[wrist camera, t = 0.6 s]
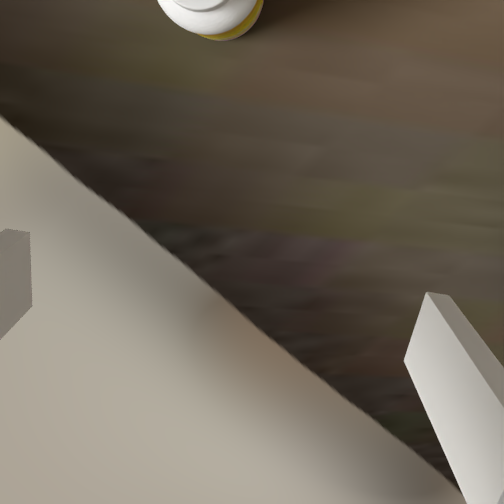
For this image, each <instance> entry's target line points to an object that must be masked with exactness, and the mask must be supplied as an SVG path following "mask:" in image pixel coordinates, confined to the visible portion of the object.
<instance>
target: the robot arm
mask: <svg viewBox="0 0 504 504" xmlns="http://www.w3.org/2000/svg"><path fill="white" fill-rule="evenodd" d="M31 307H32V288H31V259H30V232H25V231H18V230H11V229H5V230H3V231H2V232H0V339H1V338H2V337H3V336H4V335H5V334H6V333H7V332H8V331H9V330H10V329H11V328H12V327H13V326H14V325H15V324H16V323H17V322H18V320H19V319H20V318H21V317H22V316H23V315H24V314H25V313H26V312H27V311H28V310H29V309H30V308H31ZM404 362H405V364H406V367H407V369H408V371H409V373H410V376H411V378H412V380H413V382H414V385H415V387H416V389H417V391H418V394H419V396H420V398H421V401H422V403H423V405H424V407H425V410H426V412H427V414H428V416H429V419H430V421H431V423H432V425H433V428H434V430H435V432H436V434H437V437H438V439H439V441H440V444H441V446H442V448H443V450H444V453H445V455H446V457H447V459H448V462H449V464H450V466H451V468H452V471H453V473H454V475H455V478H456V480H457V482H458V484H459V487H460V489H461V491H462V493H463V496H464V498H465V500H466V502H467V504H504V368H503V366H502V365H501V364H500V362H499V361H498V360H497V358H496V357H495V356H494V354H493V353H492V352H491V350H490V349H489V348H488V346H487V345H486V344H485V343H484V341H483V340H482V339H481V337H480V336H479V335H478V333H477V332H476V331H475V329H474V328H473V327H472V325H471V324H470V323H469V321H468V320H467V319H466V317H465V316H464V315H463V313H462V312H461V311H460V309H459V308H458V307H457V305H456V304H455V303H454V301H453V300H452V299H451V297H450V296H449V295H444V294H438V293H431V292H426V294H425V297H424V300H423V303H422V306H421V310H420V313H419V316H418V319H417V322H416V325H415V328H414V331H413V334H412V337H411V340H410V343H409V346H408V349H407V353H406V356H405V359H404Z"/></svg>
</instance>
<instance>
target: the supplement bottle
mask: <svg viewBox="0 0 504 504" xmlns="http://www.w3.org/2000/svg"><path fill="white" fill-rule="evenodd" d="M158 2H159V4H160V6H161V7H162V9H163V10H164V12H165V13H166V14H167V15H168V16H169V17H170V18H171V19H172V20H173V21H174V22H175V23H177V24H178V25H179V26H181V27H183V28H184V29H186V30H188V31H191V32H193V33H196V34H198V35H200V36H203V37H205V38H208V39H211V40H217V41H226V40H231V39H235V38H237V37H239V36H241V35H243V34H244V33H245V32H247V31H248V30H249V29H250V28H251V27H252V26H253V25H254V23H255V22H256V20H257V19H258V17H259V15H260V12H261V10H262V6H263V2H264V0H158Z"/></svg>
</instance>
